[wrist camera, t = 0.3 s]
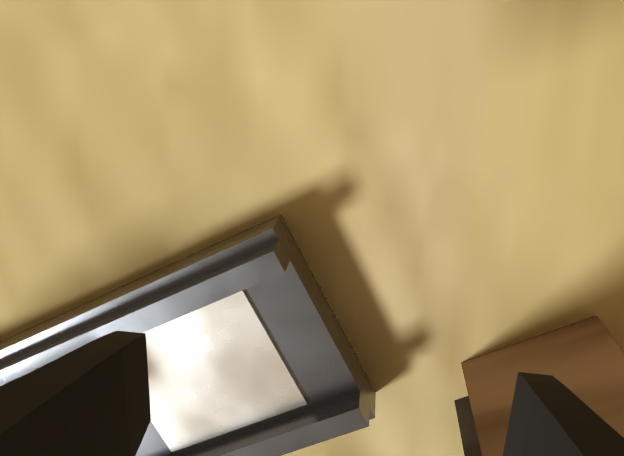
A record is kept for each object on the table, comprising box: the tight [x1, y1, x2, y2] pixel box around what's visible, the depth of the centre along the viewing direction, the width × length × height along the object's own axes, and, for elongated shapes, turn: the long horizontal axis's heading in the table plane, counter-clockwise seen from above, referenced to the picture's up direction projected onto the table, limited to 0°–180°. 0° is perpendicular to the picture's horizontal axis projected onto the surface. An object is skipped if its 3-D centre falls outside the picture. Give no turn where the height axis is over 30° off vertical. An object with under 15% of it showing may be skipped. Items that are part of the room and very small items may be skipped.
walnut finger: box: [455, 316, 624, 456], centre depth 18 cm, size 4×6×7 cm
